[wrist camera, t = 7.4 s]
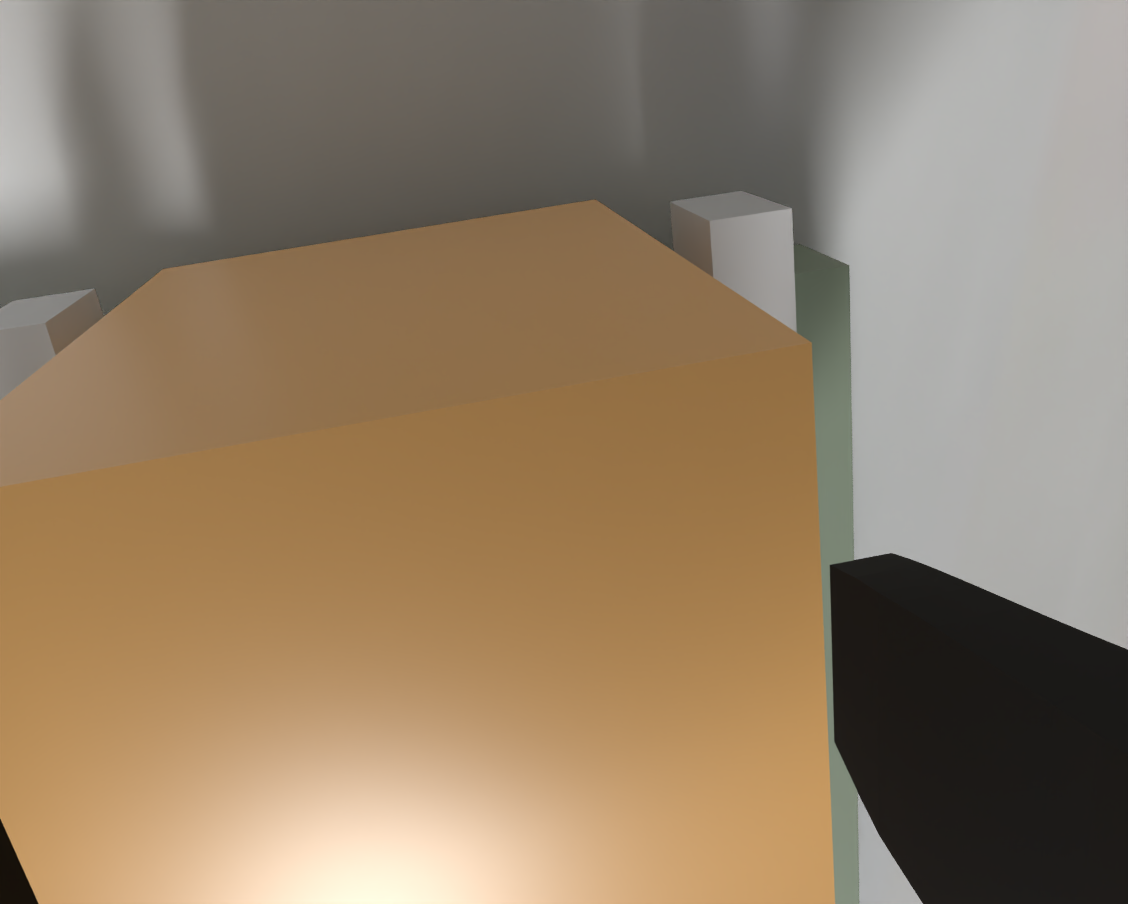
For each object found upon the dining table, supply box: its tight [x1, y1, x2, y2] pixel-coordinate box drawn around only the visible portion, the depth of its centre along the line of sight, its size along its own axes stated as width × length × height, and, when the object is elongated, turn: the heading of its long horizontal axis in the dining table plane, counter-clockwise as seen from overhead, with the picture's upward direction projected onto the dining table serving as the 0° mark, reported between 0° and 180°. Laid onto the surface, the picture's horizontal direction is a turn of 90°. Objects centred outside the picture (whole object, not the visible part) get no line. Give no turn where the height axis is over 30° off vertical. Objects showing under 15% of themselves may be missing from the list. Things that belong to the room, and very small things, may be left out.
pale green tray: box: [0, 191, 859, 904], centre depth 12 cm, size 16×13×4 cm
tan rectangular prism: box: [0, 199, 835, 904], centre depth 9 cm, size 4×8×6 cm, turn 8°
